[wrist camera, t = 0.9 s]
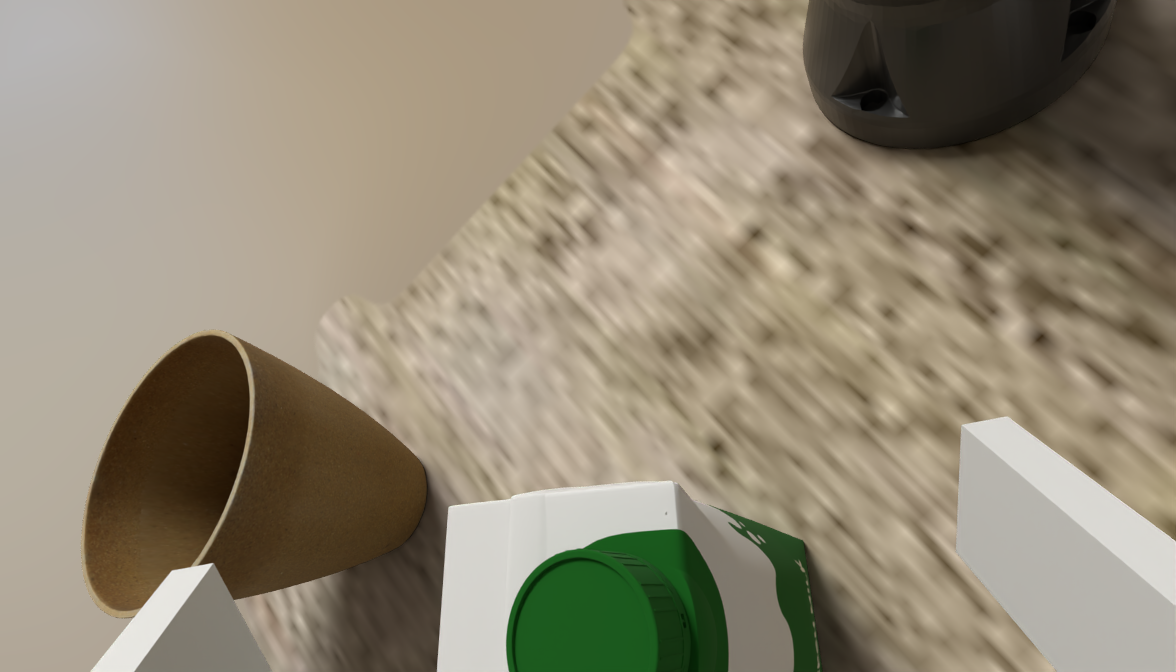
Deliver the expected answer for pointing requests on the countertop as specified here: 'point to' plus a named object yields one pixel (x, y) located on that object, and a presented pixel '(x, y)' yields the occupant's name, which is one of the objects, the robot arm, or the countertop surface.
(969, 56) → the robot arm
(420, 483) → the plant pot
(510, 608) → the milk carton
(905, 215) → the countertop surface
